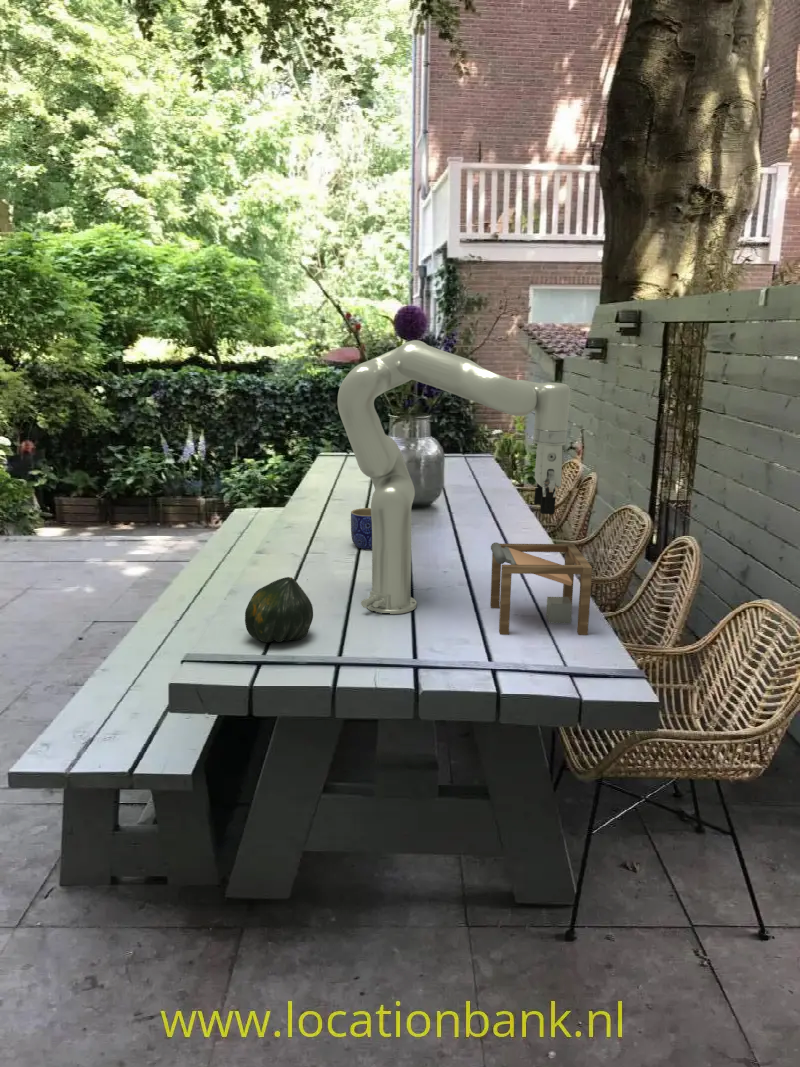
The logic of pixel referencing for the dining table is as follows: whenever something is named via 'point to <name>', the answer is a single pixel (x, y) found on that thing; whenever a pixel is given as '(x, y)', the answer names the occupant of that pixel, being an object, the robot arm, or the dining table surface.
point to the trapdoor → (526, 561)
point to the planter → (361, 528)
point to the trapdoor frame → (569, 568)
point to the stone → (559, 610)
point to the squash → (279, 612)
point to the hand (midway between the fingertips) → (543, 508)
